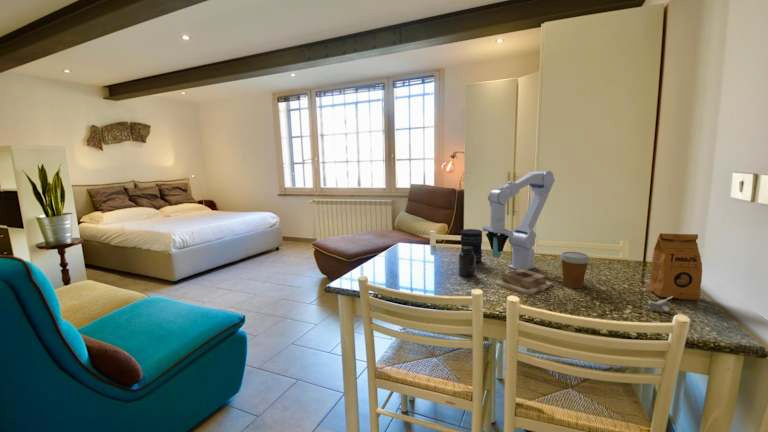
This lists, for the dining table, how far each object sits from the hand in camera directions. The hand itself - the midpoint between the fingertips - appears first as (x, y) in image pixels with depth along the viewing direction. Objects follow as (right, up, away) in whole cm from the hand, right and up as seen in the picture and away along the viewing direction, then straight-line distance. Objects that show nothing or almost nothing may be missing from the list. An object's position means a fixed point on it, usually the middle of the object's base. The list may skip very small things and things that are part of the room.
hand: (496, 250), depth 143 cm
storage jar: (-6, -8, +18) cm, 21 cm away
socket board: (+6, -12, -13) cm, 18 cm away
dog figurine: (+38, -15, -37) cm, 56 cm away
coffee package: (+52, -13, -27) cm, 60 cm away
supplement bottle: (-13, -11, 0) cm, 16 cm away
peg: (0, -3, 0) cm, 2 cm away
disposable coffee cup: (+24, -12, -15) cm, 31 cm away
